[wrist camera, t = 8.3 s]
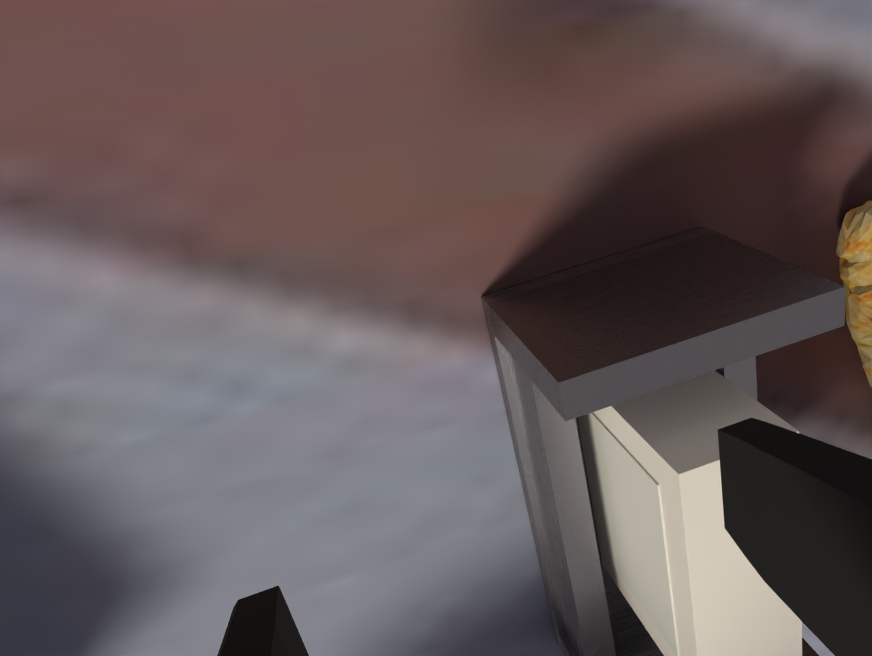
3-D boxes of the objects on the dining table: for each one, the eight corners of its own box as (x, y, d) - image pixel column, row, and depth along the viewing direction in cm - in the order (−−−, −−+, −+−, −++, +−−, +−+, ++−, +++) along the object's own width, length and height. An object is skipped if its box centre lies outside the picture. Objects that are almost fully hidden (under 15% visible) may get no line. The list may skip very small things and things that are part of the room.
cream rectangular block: (683, 533, 25) (803, 672, 20) (601, 564, 25) (701, 714, 19) (661, 331, 22) (800, 430, 16) (566, 362, 21) (676, 475, 16)
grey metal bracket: (728, 575, 27) (838, 698, 22) (556, 641, 26) (630, 785, 21) (703, 226, 21) (844, 286, 16) (480, 296, 20) (558, 382, 15)
